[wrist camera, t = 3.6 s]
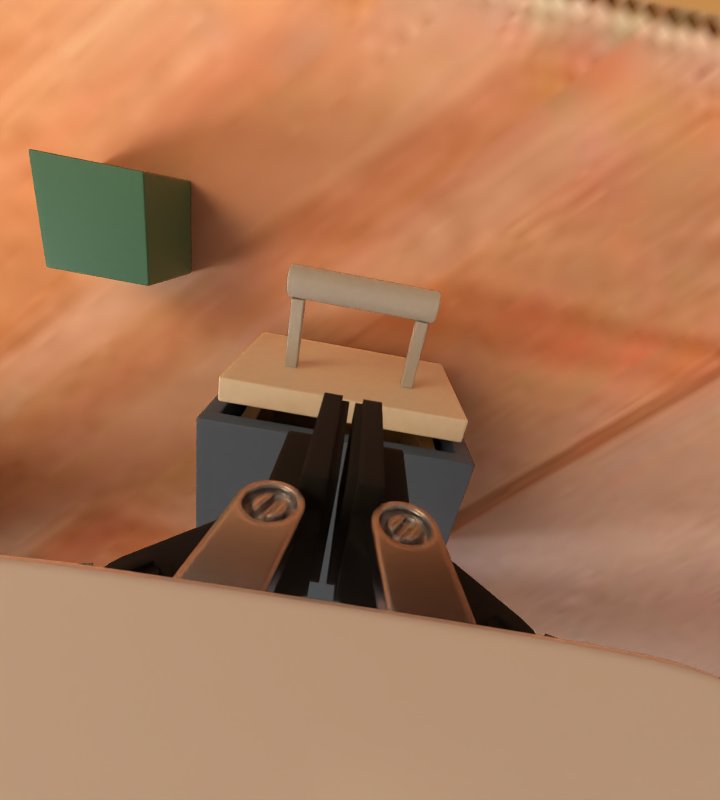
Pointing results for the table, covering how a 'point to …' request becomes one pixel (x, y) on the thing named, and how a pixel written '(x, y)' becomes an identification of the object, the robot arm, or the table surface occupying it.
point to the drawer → (348, 364)
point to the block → (112, 219)
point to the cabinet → (261, 444)
